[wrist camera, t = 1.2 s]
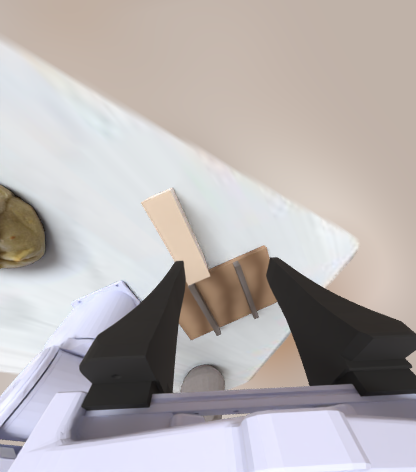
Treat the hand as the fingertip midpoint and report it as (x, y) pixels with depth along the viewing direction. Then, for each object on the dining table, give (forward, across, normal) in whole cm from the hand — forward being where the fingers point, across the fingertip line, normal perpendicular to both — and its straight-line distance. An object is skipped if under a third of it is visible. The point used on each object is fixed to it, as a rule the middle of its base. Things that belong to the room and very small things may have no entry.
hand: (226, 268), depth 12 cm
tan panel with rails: (+12, -2, +18) cm, 21 cm away
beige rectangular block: (+12, +6, +2) cm, 14 cm away
